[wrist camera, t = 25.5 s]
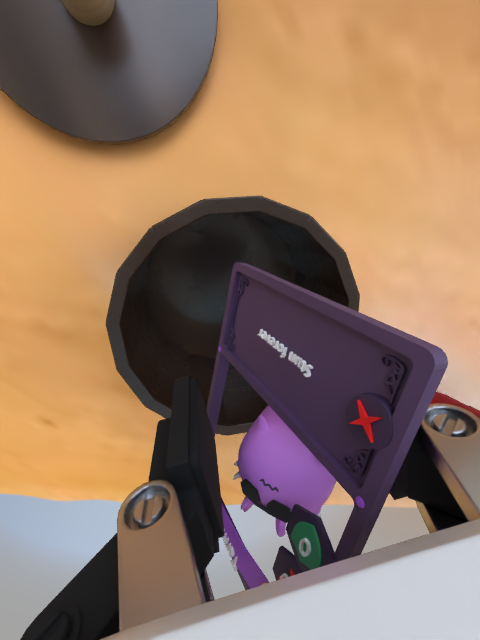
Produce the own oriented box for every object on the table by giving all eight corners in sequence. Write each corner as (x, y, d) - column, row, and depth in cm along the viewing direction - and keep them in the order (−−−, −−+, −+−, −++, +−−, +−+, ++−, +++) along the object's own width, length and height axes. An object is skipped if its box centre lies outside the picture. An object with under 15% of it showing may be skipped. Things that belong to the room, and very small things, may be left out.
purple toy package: (410, 357, 4) (263, 712, 7) (547, 344, 7) (401, 604, 9) (213, 258, 9) (177, 476, 12) (331, 273, 12) (279, 450, 15)
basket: (192, 386, 28) (192, 467, 19) (102, 254, 23) (46, 282, 14) (323, 318, 28) (385, 369, 19) (262, 169, 22) (309, 142, 14)
